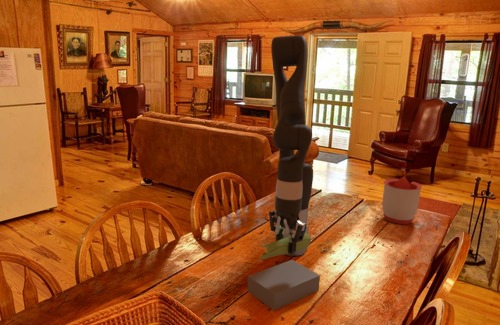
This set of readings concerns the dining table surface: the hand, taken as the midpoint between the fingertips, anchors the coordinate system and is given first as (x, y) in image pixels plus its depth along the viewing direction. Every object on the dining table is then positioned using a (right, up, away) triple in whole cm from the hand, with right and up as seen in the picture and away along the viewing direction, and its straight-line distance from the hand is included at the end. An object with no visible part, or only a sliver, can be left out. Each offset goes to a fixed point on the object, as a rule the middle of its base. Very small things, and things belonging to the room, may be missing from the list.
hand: (285, 249), depth 119 cm
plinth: (0, -13, +3) cm, 13 cm away
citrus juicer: (+57, 0, +64) cm, 85 cm away
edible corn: (0, -1, 0) cm, 1 cm away
